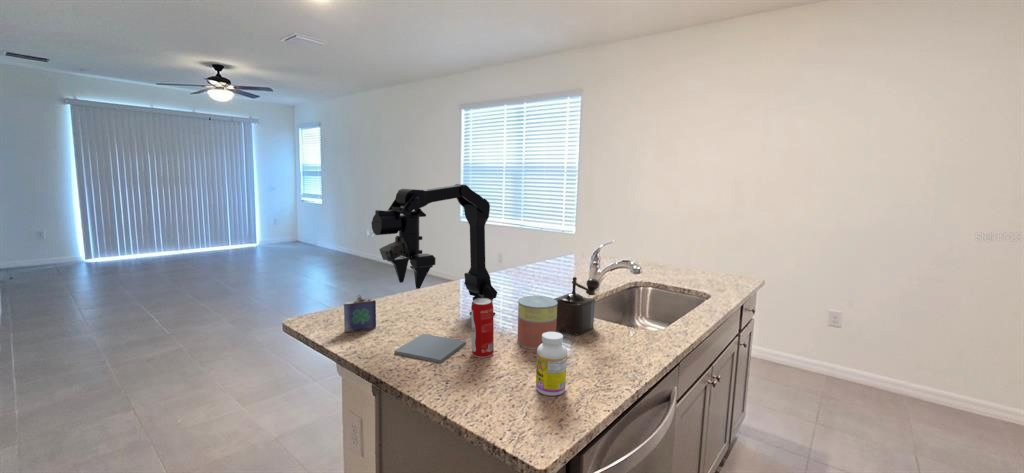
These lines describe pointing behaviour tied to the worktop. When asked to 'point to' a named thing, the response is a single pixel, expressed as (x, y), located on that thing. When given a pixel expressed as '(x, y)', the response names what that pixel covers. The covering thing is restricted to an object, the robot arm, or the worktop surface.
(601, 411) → the worktop surface
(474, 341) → the beverage can
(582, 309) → the pepper mill
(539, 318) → the canned food
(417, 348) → the rubber mat
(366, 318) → the flask
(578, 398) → the worktop surface
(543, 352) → the supplement bottle
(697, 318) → the worktop surface
